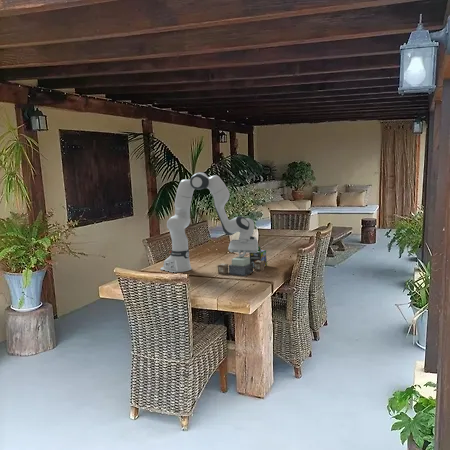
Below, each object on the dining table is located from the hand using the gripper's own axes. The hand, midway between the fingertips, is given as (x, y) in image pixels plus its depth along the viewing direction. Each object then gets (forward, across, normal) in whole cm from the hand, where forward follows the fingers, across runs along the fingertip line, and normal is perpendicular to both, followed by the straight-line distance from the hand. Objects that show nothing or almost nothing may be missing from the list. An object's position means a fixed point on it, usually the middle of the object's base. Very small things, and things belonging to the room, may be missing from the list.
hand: (241, 257), depth 291 cm
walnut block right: (+1, +10, +14) cm, 17 cm away
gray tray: (+8, 0, +7) cm, 11 cm away
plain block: (+6, 0, +6) cm, 9 cm away
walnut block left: (+10, -12, +5) cm, 16 cm away
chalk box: (-6, +6, +21) cm, 23 cm away
